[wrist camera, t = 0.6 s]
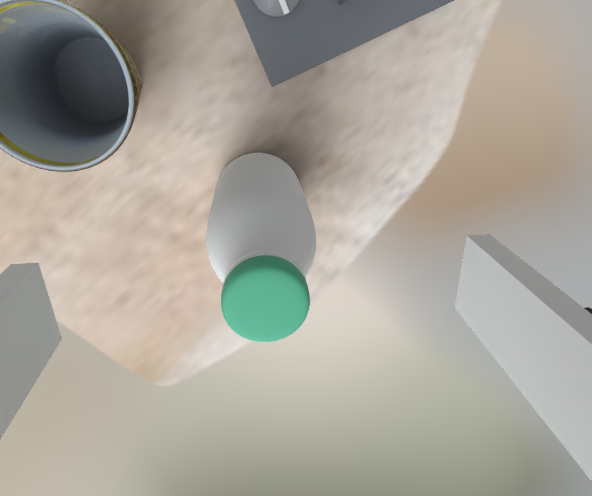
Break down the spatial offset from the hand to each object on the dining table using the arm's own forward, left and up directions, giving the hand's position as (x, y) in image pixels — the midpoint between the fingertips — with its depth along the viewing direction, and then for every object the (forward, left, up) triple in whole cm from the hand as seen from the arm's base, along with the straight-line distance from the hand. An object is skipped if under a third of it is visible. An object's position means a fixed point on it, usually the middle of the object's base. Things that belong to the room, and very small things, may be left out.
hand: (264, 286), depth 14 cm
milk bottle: (+5, -2, -27) cm, 28 cm away
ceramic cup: (-9, -11, -27) cm, 31 cm away
